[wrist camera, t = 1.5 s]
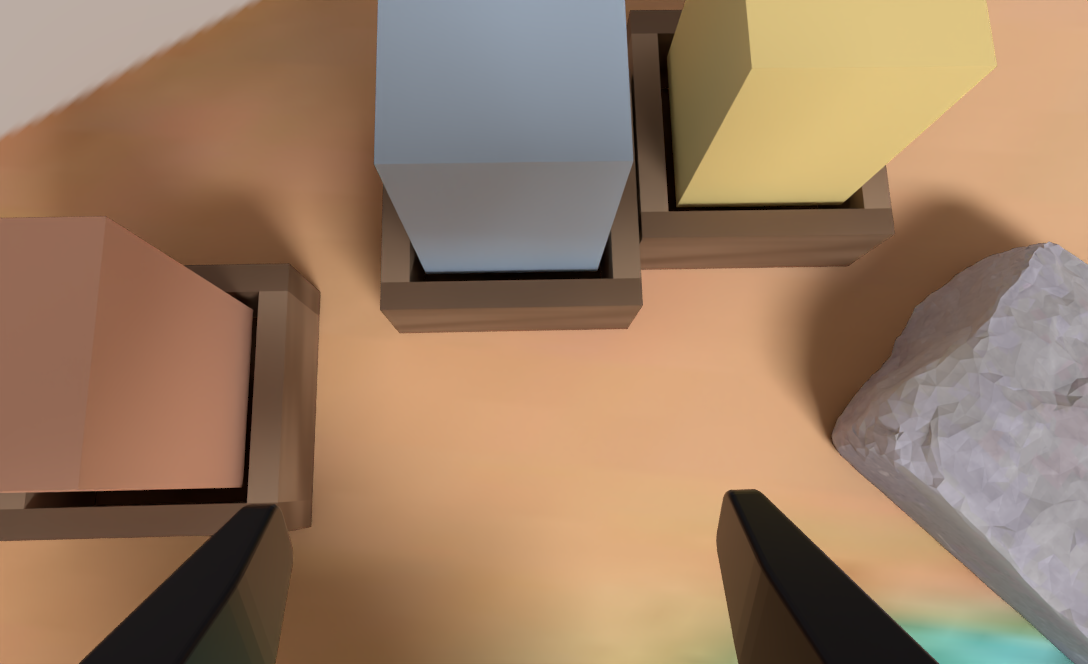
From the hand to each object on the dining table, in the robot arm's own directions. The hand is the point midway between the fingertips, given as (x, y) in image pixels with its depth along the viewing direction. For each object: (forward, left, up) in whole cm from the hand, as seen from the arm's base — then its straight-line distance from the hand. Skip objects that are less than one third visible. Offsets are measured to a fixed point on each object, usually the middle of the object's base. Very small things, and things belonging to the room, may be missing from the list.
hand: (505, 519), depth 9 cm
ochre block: (+13, -2, -11) cm, 17 cm away
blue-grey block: (+8, +4, -11) cm, 14 cm away
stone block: (+8, -15, -14) cm, 22 cm away
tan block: (-2, +10, -11) cm, 15 cm away
